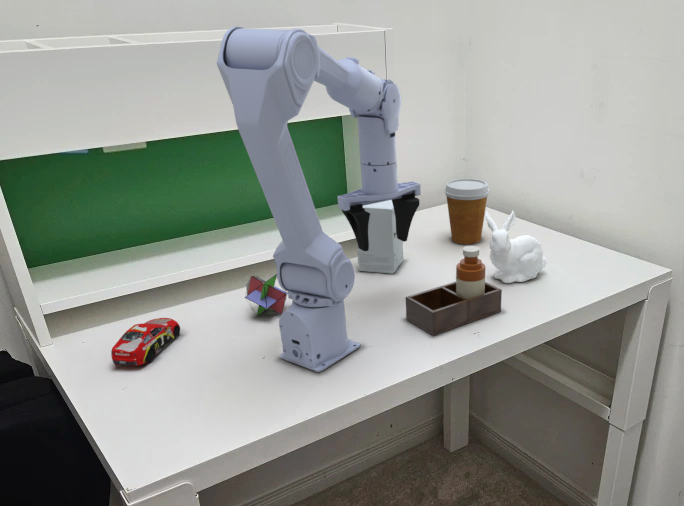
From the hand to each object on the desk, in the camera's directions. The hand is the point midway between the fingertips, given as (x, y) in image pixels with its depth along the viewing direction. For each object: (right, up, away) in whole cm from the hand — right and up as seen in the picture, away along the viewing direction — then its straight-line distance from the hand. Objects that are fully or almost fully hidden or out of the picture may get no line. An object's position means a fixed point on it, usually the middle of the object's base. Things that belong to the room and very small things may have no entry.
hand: (383, 244), depth 110 cm
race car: (-35, -18, -10) cm, 40 cm away
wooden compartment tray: (+12, -12, 0) cm, 17 cm away
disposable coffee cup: (+15, +7, +32) cm, 36 cm away
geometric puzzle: (-19, -11, +1) cm, 23 cm away
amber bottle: (+15, -10, +2) cm, 18 cm away
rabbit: (+23, -3, +15) cm, 27 cm away
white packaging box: (-2, -1, +19) cm, 20 cm away
